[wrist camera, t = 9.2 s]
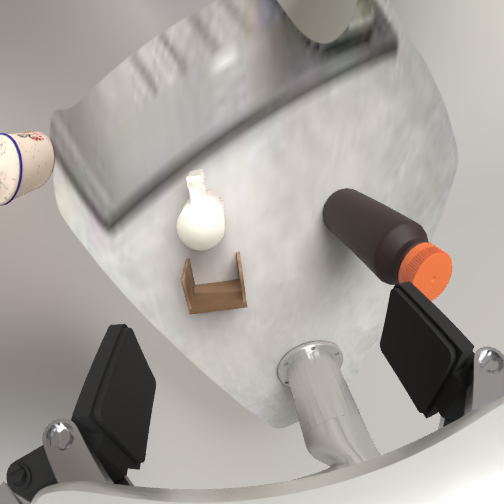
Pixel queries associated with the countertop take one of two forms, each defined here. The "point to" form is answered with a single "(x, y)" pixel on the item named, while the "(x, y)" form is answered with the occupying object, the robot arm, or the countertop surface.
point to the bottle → (387, 242)
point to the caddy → (213, 292)
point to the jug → (201, 215)
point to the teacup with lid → (24, 163)
